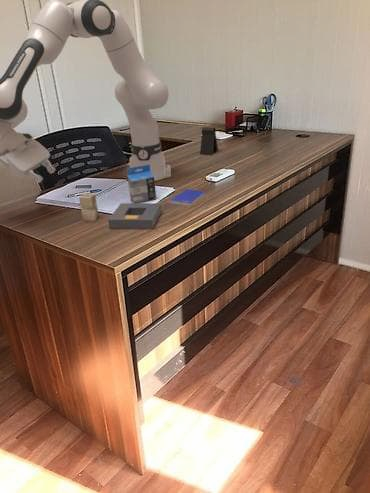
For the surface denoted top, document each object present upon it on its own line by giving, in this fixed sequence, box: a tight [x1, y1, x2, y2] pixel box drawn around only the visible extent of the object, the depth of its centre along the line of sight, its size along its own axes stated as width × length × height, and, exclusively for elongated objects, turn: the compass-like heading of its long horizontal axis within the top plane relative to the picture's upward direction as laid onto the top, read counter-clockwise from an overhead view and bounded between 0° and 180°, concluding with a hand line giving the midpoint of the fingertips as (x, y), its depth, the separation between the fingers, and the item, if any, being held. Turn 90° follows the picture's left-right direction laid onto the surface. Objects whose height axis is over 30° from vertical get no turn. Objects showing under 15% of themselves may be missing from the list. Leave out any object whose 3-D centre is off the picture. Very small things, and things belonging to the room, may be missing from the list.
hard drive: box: [169, 188, 206, 207], centre depth 156 cm, size 2×8×12 cm
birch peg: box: [78, 193, 99, 222], centre depth 142 cm, size 4×4×8 cm
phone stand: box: [199, 126, 219, 156], centre depth 208 cm, size 9×6×12 cm, turn 154°
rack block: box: [107, 202, 162, 230], centre depth 140 cm, size 14×14×3 cm
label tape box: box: [126, 164, 157, 203], centre depth 154 cm, size 9×4×12 cm, turn 114°
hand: (47, 176), depth 139 cm, fingers open, 8 cm apart
